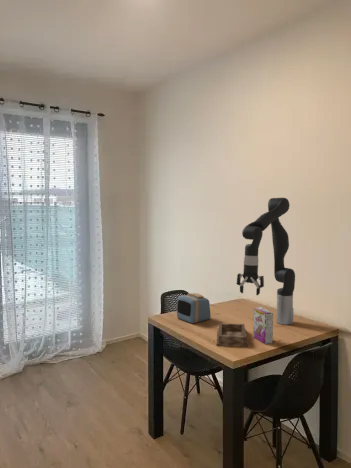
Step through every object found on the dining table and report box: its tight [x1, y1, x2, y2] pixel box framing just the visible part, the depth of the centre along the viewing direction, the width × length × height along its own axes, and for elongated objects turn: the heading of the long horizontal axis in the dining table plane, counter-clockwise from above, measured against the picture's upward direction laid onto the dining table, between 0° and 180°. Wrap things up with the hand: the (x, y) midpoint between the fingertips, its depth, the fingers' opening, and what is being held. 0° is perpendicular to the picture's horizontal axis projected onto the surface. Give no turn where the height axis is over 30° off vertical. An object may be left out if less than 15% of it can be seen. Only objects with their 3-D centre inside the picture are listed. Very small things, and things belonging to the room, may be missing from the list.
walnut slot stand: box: [216, 322, 249, 348], centre depth 210 cm, size 16×24×4 cm, turn 173°
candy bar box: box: [253, 306, 274, 345], centre depth 205 cm, size 11×5×16 cm, turn 22°
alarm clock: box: [176, 292, 212, 324], centre depth 243 cm, size 16×16×16 cm
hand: (249, 294), depth 209 cm, fingers open, 8 cm apart
